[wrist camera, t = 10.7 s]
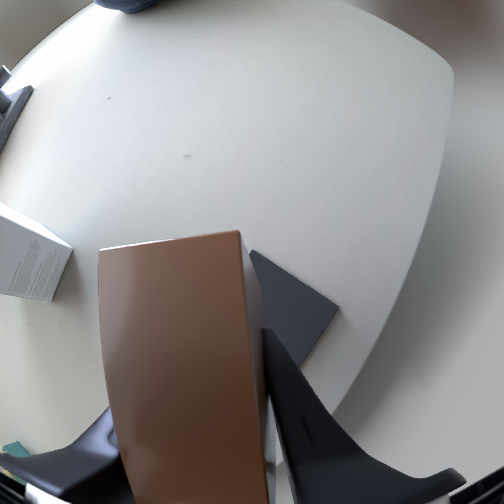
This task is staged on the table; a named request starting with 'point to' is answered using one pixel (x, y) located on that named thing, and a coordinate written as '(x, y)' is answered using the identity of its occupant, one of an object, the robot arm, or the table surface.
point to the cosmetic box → (29, 257)
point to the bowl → (126, 4)
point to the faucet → (10, 105)
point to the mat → (292, 307)
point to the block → (188, 370)
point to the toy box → (18, 452)
